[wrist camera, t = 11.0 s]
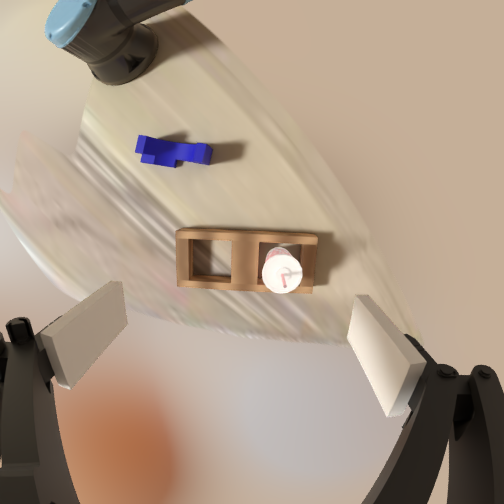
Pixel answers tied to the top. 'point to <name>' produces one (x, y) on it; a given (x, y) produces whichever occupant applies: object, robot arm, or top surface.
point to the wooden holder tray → (242, 259)
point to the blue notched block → (171, 152)
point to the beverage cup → (281, 271)
